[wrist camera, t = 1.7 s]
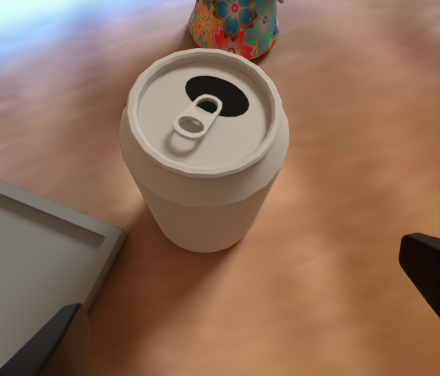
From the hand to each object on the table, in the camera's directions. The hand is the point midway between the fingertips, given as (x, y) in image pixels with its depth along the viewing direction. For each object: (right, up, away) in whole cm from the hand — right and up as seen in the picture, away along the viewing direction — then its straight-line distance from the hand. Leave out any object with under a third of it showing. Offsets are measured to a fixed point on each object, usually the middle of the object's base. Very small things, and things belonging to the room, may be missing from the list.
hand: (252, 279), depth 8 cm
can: (-2, +1, +15) cm, 15 cm away
